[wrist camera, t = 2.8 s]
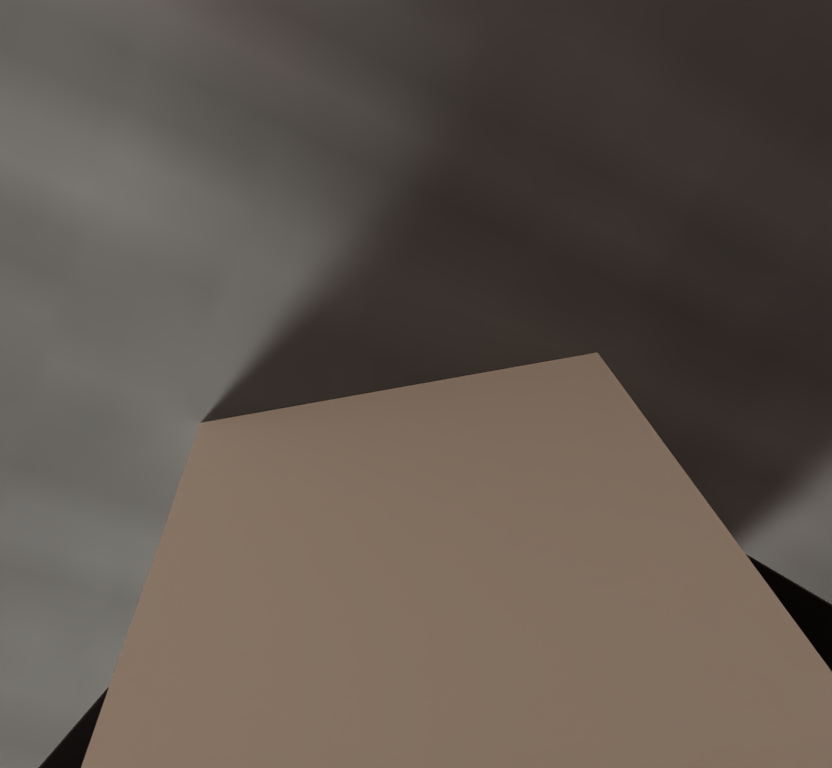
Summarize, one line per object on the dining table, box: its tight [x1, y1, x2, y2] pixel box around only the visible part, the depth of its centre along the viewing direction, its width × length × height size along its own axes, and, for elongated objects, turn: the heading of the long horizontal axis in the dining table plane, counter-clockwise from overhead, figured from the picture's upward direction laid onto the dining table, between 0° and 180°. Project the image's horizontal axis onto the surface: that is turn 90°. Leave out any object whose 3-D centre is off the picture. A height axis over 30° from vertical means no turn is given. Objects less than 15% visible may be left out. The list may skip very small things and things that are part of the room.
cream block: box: [81, 352, 832, 768], centre depth 8 cm, size 5×5×6 cm
